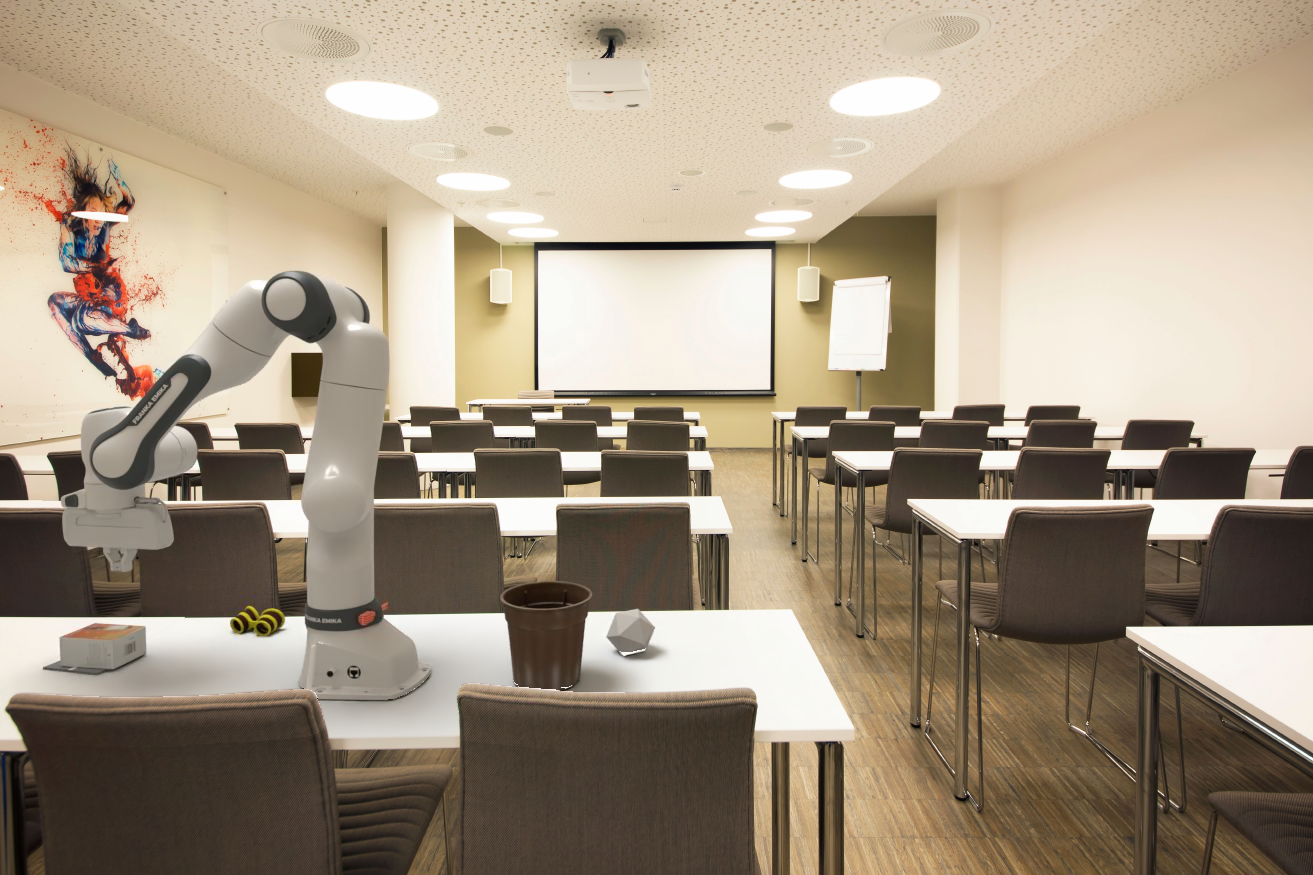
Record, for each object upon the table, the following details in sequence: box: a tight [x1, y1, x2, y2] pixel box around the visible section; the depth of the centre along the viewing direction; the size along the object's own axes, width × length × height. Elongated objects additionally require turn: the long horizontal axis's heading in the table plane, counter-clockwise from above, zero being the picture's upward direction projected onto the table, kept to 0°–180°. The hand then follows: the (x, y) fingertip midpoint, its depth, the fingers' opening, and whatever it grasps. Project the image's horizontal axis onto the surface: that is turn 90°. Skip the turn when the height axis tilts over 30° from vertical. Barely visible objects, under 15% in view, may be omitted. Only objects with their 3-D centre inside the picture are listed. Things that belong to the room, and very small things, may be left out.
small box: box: [58, 622, 147, 670], centre depth 136 cm, size 8×6×10 cm
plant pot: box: [500, 580, 593, 691], centre depth 132 cm, size 16×16×16 cm
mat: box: [42, 654, 146, 676], centre depth 137 cm, size 12×10×1 cm
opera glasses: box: [229, 605, 286, 637], centre depth 154 cm, size 10×5×5 cm, turn 77°
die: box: [606, 608, 656, 652], centre depth 147 cm, size 8×9×10 cm
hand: (121, 570), depth 134 cm, fingers closed
